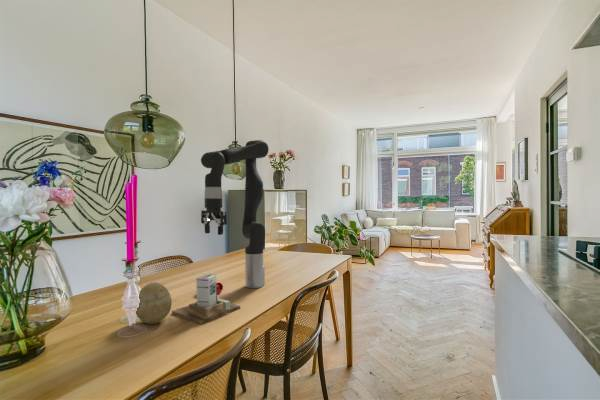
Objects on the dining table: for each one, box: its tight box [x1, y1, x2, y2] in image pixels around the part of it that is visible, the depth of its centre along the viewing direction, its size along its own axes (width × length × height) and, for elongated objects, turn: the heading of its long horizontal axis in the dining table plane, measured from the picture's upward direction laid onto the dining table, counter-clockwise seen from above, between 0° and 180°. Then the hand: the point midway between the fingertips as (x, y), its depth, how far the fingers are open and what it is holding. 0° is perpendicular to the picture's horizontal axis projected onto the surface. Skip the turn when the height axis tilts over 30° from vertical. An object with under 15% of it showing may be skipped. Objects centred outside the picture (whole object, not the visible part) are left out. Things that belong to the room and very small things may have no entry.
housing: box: [171, 300, 241, 325], centre depth 136 cm, size 20×18×5 cm
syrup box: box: [195, 273, 218, 308], centre depth 131 cm, size 6×6×14 cm
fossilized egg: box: [135, 281, 173, 325], centre depth 124 cm, size 13×13×15 cm
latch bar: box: [217, 297, 231, 310], centre depth 136 cm, size 2×10×3 cm, turn 55°
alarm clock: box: [216, 282, 224, 296], centre depth 161 cm, size 10×6×15 cm
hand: (213, 233), depth 147 cm, fingers open, 8 cm apart
